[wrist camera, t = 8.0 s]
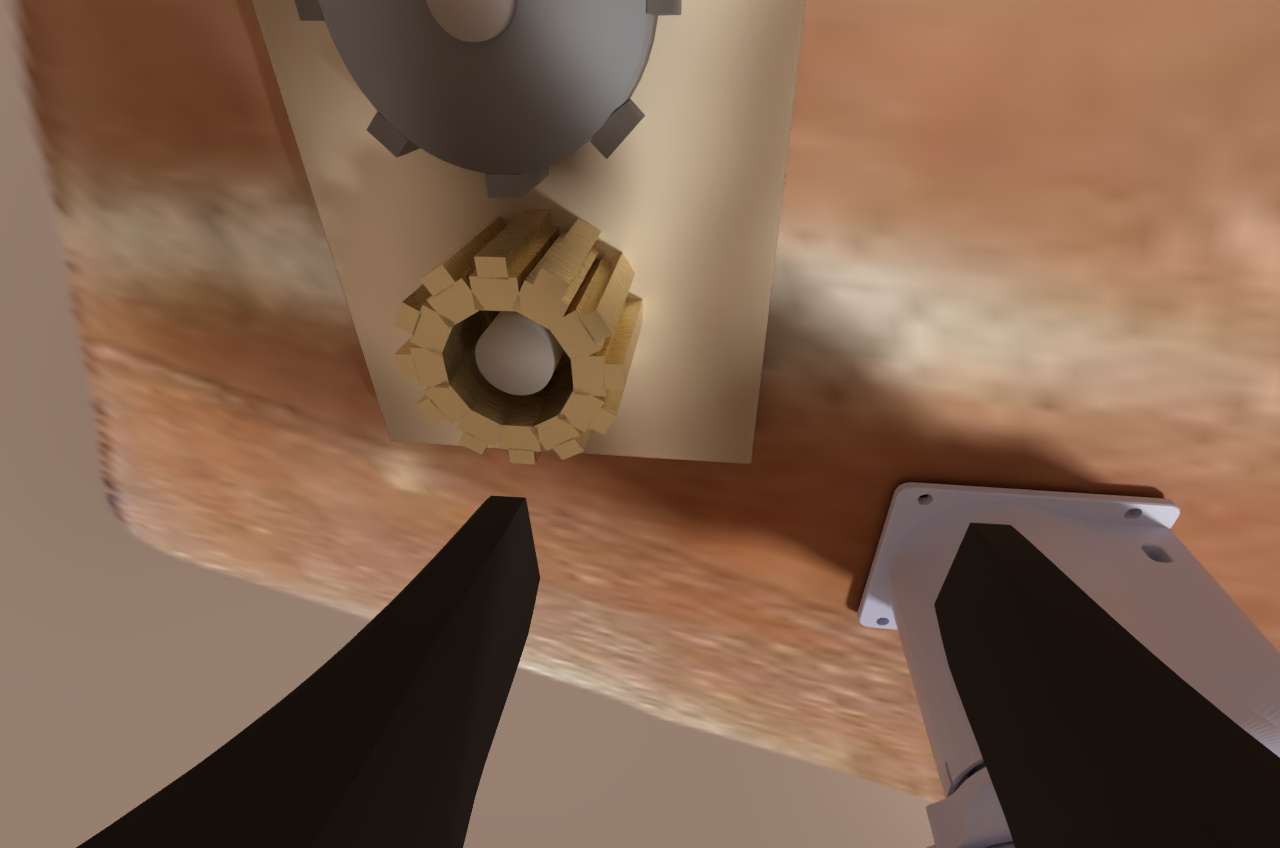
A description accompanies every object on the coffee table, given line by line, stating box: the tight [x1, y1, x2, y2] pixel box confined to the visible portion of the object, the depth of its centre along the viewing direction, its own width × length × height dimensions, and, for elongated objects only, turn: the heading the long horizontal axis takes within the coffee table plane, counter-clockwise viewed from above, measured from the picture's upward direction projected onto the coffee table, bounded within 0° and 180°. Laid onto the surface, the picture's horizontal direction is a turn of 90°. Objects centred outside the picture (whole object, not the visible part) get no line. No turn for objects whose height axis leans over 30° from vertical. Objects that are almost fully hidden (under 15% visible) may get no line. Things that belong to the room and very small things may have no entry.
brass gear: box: [394, 209, 643, 464], centre depth 16 cm, size 6×6×4 cm
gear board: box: [251, 0, 806, 464], centre depth 15 cm, size 13×17×5 cm
